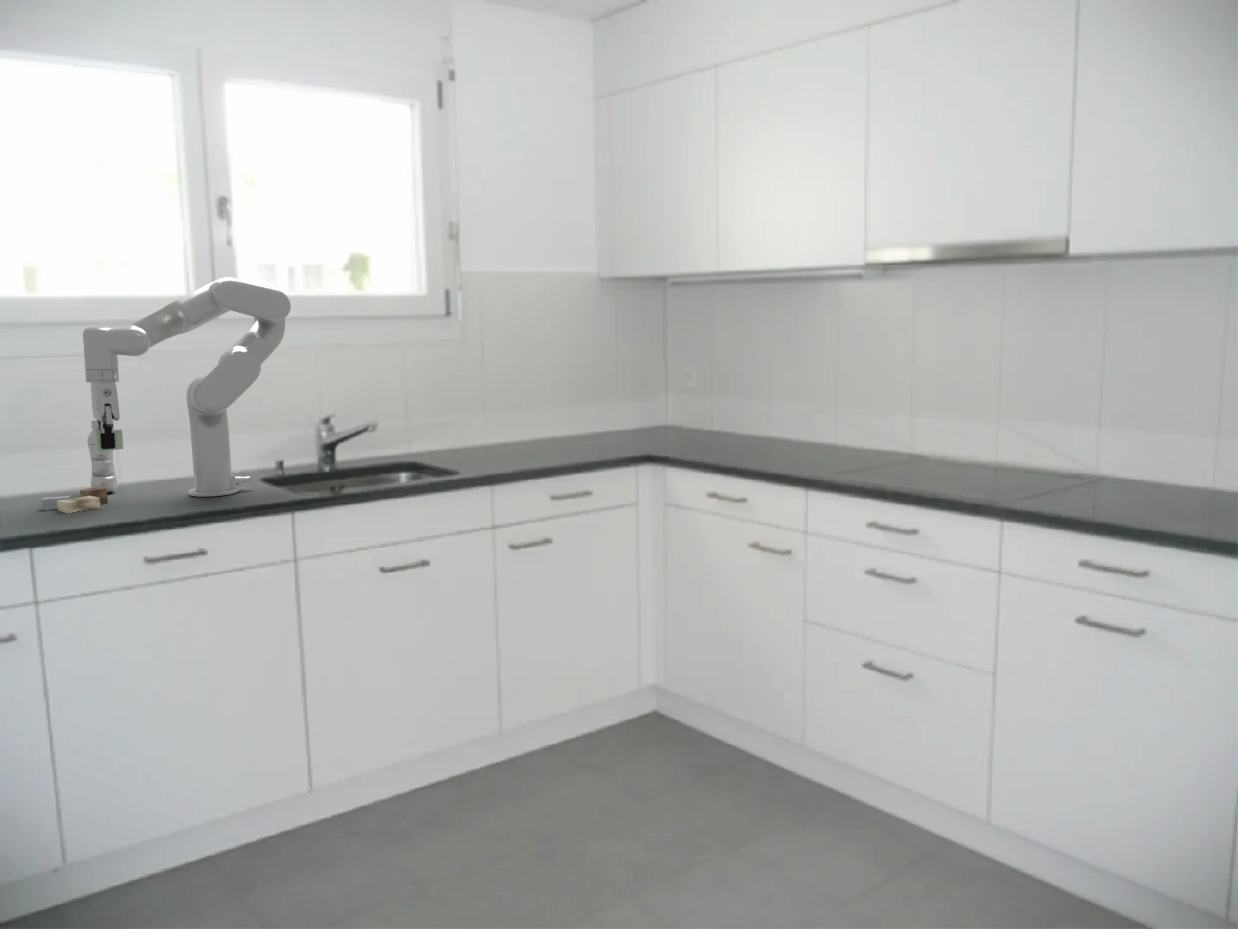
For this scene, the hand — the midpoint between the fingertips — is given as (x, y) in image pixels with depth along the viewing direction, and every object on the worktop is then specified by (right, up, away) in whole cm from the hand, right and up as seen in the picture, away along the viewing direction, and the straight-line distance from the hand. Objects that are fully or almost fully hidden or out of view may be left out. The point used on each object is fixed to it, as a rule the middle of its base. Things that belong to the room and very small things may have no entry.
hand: (106, 447), depth 257 cm
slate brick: (-10, -16, -4) cm, 19 cm away
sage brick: (0, -1, 0) cm, 1 cm away
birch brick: (-4, -16, -6) cm, 18 cm away
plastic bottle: (-9, -12, +17) cm, 23 cm away
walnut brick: (-4, -15, +2) cm, 15 cm away
